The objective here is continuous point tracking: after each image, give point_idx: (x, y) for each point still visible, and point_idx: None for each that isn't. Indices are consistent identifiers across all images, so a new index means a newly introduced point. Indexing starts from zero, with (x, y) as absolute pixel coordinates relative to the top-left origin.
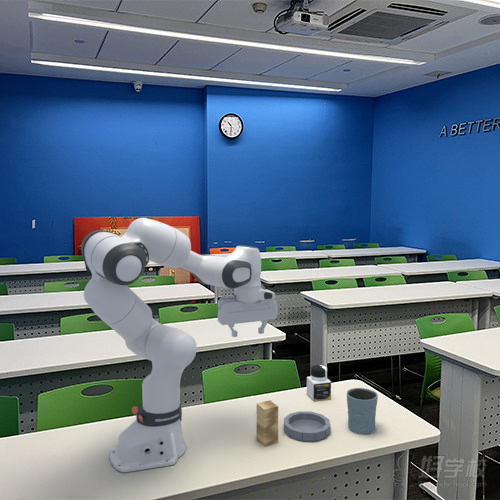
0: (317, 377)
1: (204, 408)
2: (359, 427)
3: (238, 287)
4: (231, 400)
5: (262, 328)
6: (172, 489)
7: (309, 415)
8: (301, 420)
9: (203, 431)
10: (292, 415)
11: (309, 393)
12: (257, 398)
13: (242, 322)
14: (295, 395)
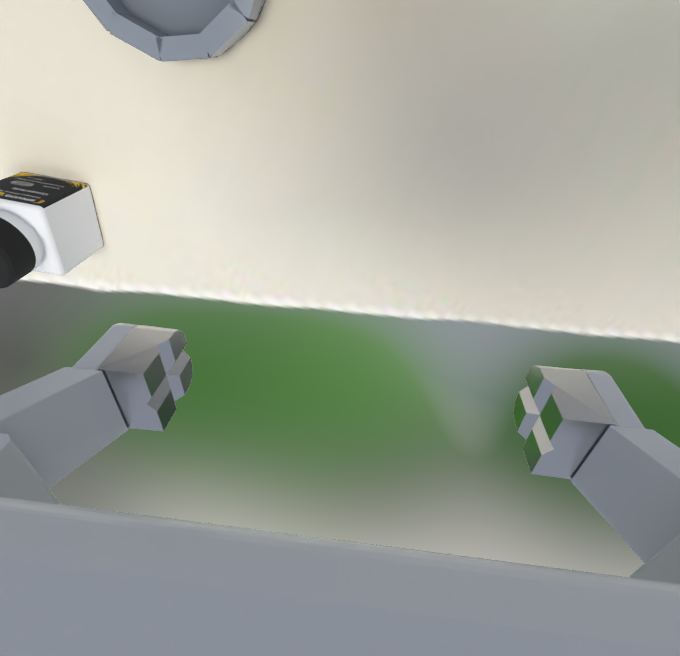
0: (8, 222)
1: (460, 297)
2: None
3: None
4: (356, 308)
5: (97, 373)
6: None
7: (125, 15)
8: (171, 18)
9: (565, 140)
10: (201, 32)
11: (90, 225)
12: (273, 286)
13: (561, 581)
14: (144, 252)
